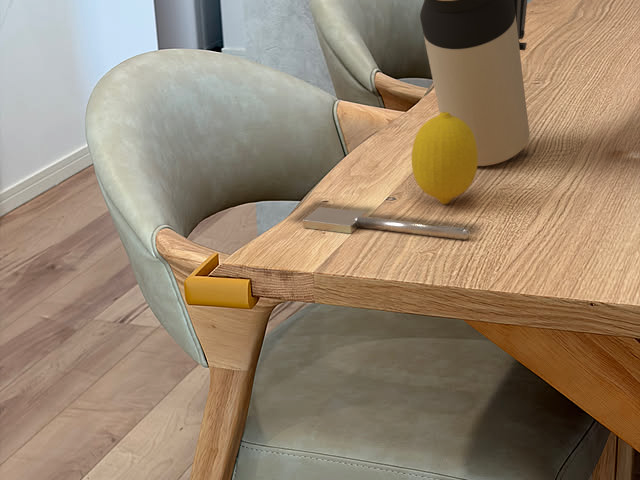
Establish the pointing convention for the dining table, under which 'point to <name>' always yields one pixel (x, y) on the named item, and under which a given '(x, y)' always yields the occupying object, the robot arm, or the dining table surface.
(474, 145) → the lemon
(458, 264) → the dining table surface
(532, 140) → the dining table surface
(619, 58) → the dining table surface
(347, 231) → the silver knife
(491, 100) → the travel mug
